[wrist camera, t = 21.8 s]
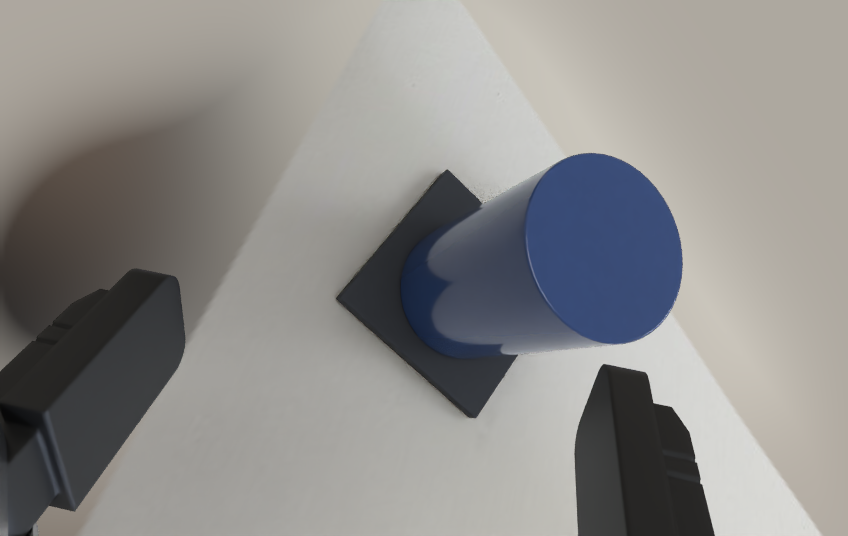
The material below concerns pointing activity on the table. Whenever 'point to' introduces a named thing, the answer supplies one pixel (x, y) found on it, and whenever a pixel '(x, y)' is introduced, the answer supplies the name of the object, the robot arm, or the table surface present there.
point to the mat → (383, 311)
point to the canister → (548, 265)
